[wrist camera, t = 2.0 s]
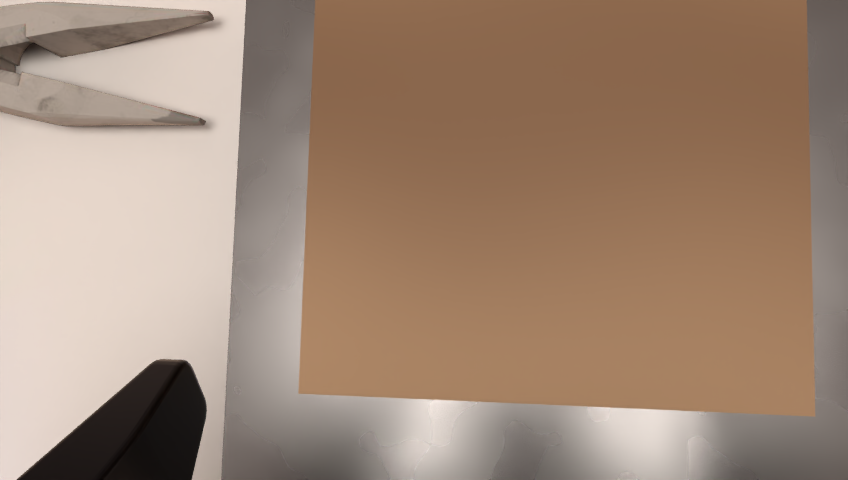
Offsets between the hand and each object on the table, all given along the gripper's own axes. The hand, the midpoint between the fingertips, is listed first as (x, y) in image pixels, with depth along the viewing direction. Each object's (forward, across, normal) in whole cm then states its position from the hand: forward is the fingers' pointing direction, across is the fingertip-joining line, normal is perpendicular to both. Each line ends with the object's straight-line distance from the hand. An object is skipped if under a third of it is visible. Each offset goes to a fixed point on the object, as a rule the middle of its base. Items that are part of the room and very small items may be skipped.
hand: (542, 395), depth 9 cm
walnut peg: (+8, 0, +5) cm, 10 cm away
